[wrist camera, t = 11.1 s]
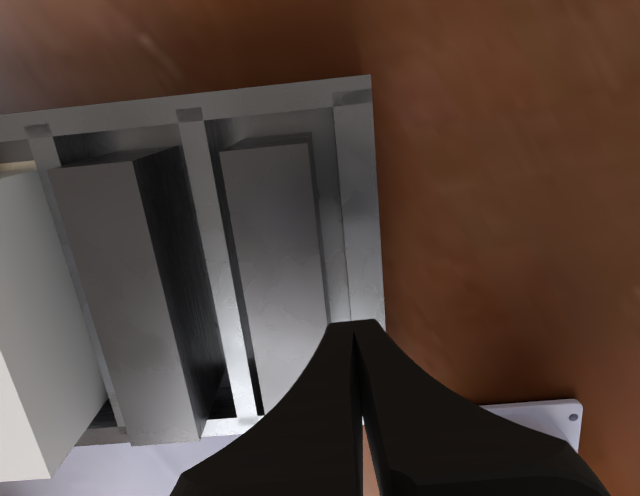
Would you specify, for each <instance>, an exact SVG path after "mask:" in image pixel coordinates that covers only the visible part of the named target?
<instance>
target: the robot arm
mask: <svg viewBox="0 0 640 496" xmlns="http://www.w3.org/2000/svg"><path fill="white" fill-rule="evenodd" d="M582 412H583V406H582V405H581V404H580V402H579V401H578V400H576V399H562V400H549V401H536V402H523V403H510V404H497V405H483V406H478V405H476V404H474V403H472V402H471V401H469V400H467V399H465V398H463V397H462V396H460V395H458V394H456V393H455V392H453V391H452V390H450V389H448V388H447V387H445V386H444V385H443V384H441V383H440V382H438V381H437V380H435V379H434V378H433V377H431V376H430V375H429V374H428V373H426V372H425V371H424V370H423V369H422V368H421V367H419V366H418V365H417V364H416V363H415V362H414V361H413V360H412V359H411V358H409V357H408V356H407V355H406V354H405V353H404V352H403V351H402V350H401V349H400V347H399V346H398V345H397V344H396V343H395V342H394V341H393V340H392V339H391V338H390V336H389V335H388V334H387V333H386V332H385V330H384V329H383V328H382V326H381V325H380V324H379V322H378V321H377V320H375V319H365V320H354V321H344V322H334V323H330V324H329V325H328V326H327V327H326V330H325V333H324V335H323V337H322V340H321V342H320V343H319V345H318V347H317V349H316V351H315V353H314V354H313V356H312V358H311V360H310V361H309V363H308V364H307V366H306V367H305V369H304V370H303V372H302V373H301V375H300V376H299V377H298V379H297V380H296V382H295V383H294V384H293V386H292V387H291V388H290V389H289V391H288V392H287V393H286V394H285V395H284V397H283V398H282V399H281V400H280V401H279V402H278V403H277V404H276V405H275V406H274V407H273V408H272V409H271V410H270V411H269V412H268V413H267V414H266V415H265V416H264V417H263V418H261V419H260V420H259V421H258V422H257V423H256V424H255V425H254V426H252V427H251V428H250V429H249V430H247V431H246V432H245V433H244V434H242V435H241V436H240V437H238V438H237V439H236V440H234V441H233V442H231V443H230V444H229V445H227V446H226V447H224V448H223V449H221V450H220V451H218V452H217V453H215V454H213V455H212V456H210V457H208V458H207V459H205V460H204V461H202V462H200V463H199V464H197V465H195V466H194V467H192V468H190V469H188V470H187V471H185V472H183V473H182V474H181V475H180V477H179V479H178V481H177V483H176V485H175V487H174V489H173V491H172V492H171V494H170V496H363V423H362V416H363V421H364V425H365V430H366V434H367V439H368V443H369V448H370V452H371V456H372V461H373V465H374V470H375V474H376V479H377V483H378V487H379V492H380V496H611V495H610V494H609V492H608V491H607V490H606V488H605V487H604V486H603V484H602V483H601V481H600V480H599V479H598V477H597V476H596V475H595V473H594V472H593V471H592V470H591V468H590V467H589V466H588V465H587V463H586V462H585V461H584V460H583V459H582V458H581V457H580V456H579V454H578V446H579V438H580V429H581V421H582ZM571 414H573V415H572V416H570V415H571Z"/></svg>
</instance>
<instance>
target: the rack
mask: <svg viewBox="0 0 640 496" xmlns="http://www.w3.org/2000/svg"><path fill="white" fill-rule="evenodd" d="M30 168H37V170H38V174H39V177H40V180H41V183H42V186H43V189H44V193H45V196H46V199H47V202H48V205H49V209H50V212H51V215H52V218H53V221H54V224H55V228H56V231H57V234H58V237H59V240H60V244H61V247H62V250H63V253H64V256H65V259H66V263H67V266H68V269H69V272H70V275H71V279H72V282H73V285H74V288H75V291H76V294H77V298H78V301H79V304H80V307H81V310H82V314H83V317H84V320H85V323H86V326H87V329H88V333H89V336H90V339H91V342H92V345H93V349H94V352H95V355H96V358H97V361H98V364H99V368H100V371H101V374H102V377H103V380H104V384H105V387H106V390H107V393H108V396H109V398H108V399H107V401H106V402H105V403H104V405H103V406H102V408H101V409H100V410H99V412H98V413H97V415H96V416H95V417H94V419H93V420H92V422H91V423H90V424H89V426H88V427H87V429H86V430H85V431H84V433H83V434H82V436H81V437H80V438H79V440H78V441H77V443H76V444H75V445H74V447H75V446H88V445H101V444H114V443H128V442H130V443H131V446H142V445H156V444H169V443H182V442H196V441H200V439H201V437H207V436H220V435H233V434H244V433H245V432H246V431H247V430H249V429H250V428H251V427H252V426H254V425H255V424H256V423H257V422H258V421H259V420H260V419H261V418H263V417H264V416H265V415H266V414H267V413H268V412H269V411H270V410H271V409H272V408H273V407H274V406H275V405H276V404H277V403H278V402H279V401H280V400H281V399H282V398H283V397H284V395H285V394H286V393H287V392H288V391H289V389H290V388H291V387H292V386H293V384H294V383H295V382H296V380H297V379H298V377H299V376H300V375H301V373H302V372H303V370H304V369H305V367H306V366H307V364H308V363H309V361H310V360H311V358H312V356H313V354H314V353H315V351H316V349H317V347H318V345H319V343H320V342H321V340H322V337H323V335H324V333H325V330H326V327H327V326H328V325H329V324H330V323H334V322H344V321H354V320H365V319H375V320H377V321H378V322H379V324H380V325H381V326H382V328H383V329H384V330H385V332H386V325H385V308H384V291H383V274H382V257H381V240H380V223H379V205H378V188H377V171H376V154H375V137H374V120H373V102H372V85H371V74H369V75H359V76H350V77H341V78H332V79H323V80H313V81H304V82H295V83H286V84H277V85H267V86H258V87H249V88H240V89H231V90H221V91H212V92H203V93H194V94H185V95H176V96H166V97H157V98H148V99H139V100H130V101H120V102H111V103H102V104H93V105H84V106H74V107H65V108H56V109H47V110H38V111H29V112H19V113H10V114H1V115H0V172H1V171H11V170H20V169H30ZM362 423H363V425H364V421H363V416H362Z"/></svg>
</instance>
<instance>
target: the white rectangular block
mask: <svg viewBox="0 0 640 496" xmlns="http://www.w3.org/2000/svg"><path fill="white" fill-rule="evenodd" d="M108 398H109V396H108V393H107V390H106V387H105V384H104V380H103V377H102V374H101V371H100V368H99V364H98V361H97V358H96V355H95V352H94V349H93V345H92V342H91V339H90V336H89V333H88V329H87V326H86V323H85V320H84V317H83V314H82V310H81V307H80V304H79V301H78V298H77V294H76V291H75V288H74V285H73V282H72V279H71V275H70V272H69V269H68V266H67V263H66V259H65V256H64V253H63V250H62V247H61V244H60V240H59V237H58V234H57V231H56V228H55V224H54V221H53V218H52V215H51V212H50V209H49V205H48V202H47V199H46V196H45V193H44V189H43V186H42V183H41V180H40V177H39V174H38V170H37V168H30V169H20V170H11V171H1V172H0V482H6V481H20V480H34V479H47V478H52V476H53V475H54V473H55V472H56V471H57V469H58V468H59V466H60V465H61V464H62V462H63V461H64V459H65V458H66V457H67V455H68V454H69V452H70V451H71V450H72V448H73V447H74V445H75V444H76V443H77V441H78V440H79V438H80V437H81V436H82V434H83V433H84V431H85V430H86V429H87V427H88V426H89V424H90V423H91V422H92V420H93V419H94V417H95V416H96V415H97V413H98V412H99V410H100V409H101V408H102V406H103V405H104V403H105V402H106V401H107V399H108Z"/></svg>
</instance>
